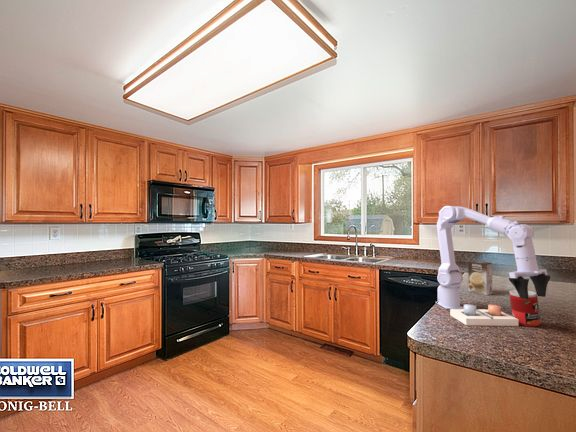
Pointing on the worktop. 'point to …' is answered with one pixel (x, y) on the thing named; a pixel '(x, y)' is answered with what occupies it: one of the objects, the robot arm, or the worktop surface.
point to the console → (484, 318)
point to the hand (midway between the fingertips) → (533, 297)
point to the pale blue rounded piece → (469, 310)
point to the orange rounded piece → (494, 310)
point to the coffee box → (480, 277)
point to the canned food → (525, 308)
